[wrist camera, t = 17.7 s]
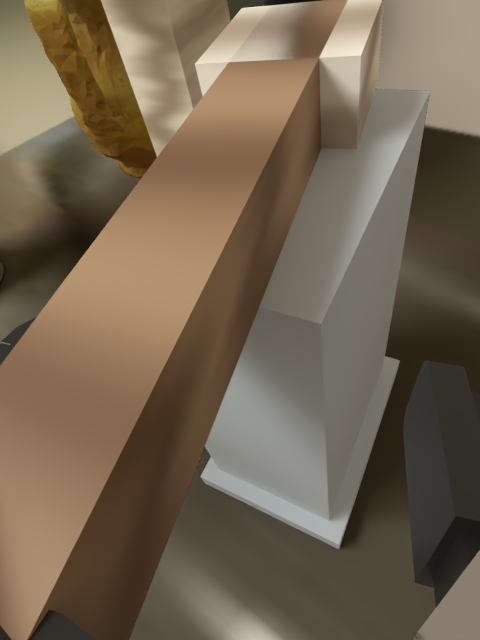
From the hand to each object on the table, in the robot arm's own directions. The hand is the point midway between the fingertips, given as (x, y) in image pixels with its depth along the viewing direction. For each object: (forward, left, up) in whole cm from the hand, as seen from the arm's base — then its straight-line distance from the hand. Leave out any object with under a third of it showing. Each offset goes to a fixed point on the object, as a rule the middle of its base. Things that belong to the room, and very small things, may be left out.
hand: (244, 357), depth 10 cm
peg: (-2, +3, 0) cm, 4 cm away
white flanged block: (-3, +8, -22) cm, 23 cm away
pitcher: (-38, +38, -22) cm, 58 cm away
